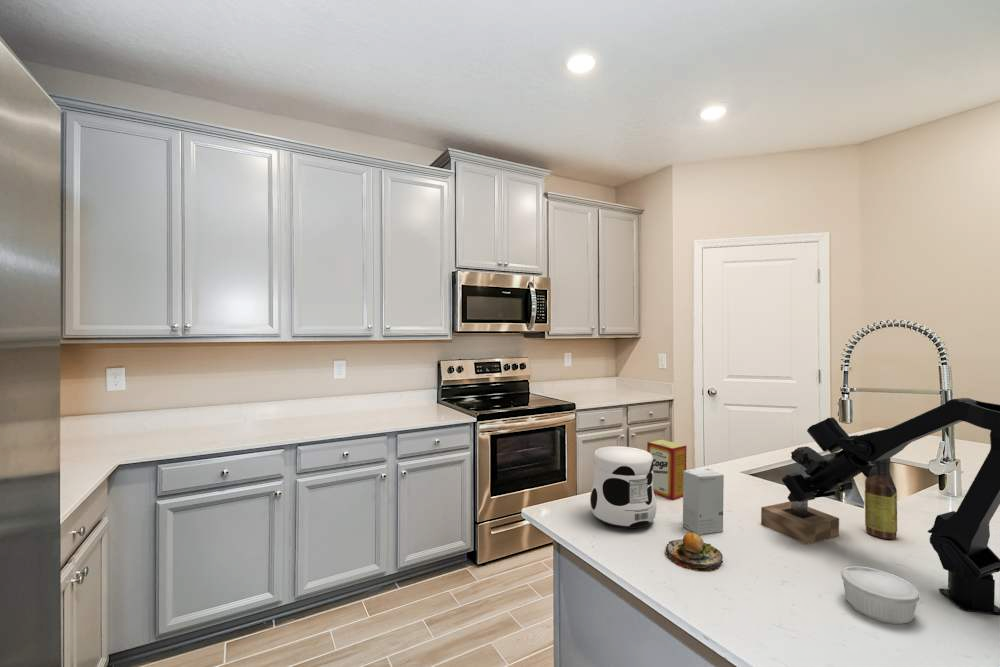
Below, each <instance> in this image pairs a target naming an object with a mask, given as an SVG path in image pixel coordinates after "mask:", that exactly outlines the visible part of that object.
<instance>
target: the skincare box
mask: <svg viewBox="0 0 1000 667" xmlns="http://www.w3.org/2000/svg"><path fill="white" fill-rule="evenodd" d="M724 477H725V476H724V474H723V473H720V472H718V471H715V470H713V469H709V468H699V469H698V468H697V469H696V468H695V469H694V468H693V469H686V470H685V471H683V497H682V526H683V528H686V529H687V530H689V531H690V533H692V532H693V533H695V534H697V535H699V536H701V535H707V534H713V533H721V532H724V485H725V484H724V481H725V479H724Z"/></svg>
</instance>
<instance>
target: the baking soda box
mask: <svg viewBox="0 0 1000 667" xmlns="http://www.w3.org/2000/svg"><path fill="white" fill-rule="evenodd" d="M646 448H647V449H646V451H647V452H649V453H650V454H651V455H652V457H653V491H654V495H657V496H659V497H662V498H666V499H668V500H670V501H676V500H678V499H683V471H685V470H687V445H684V444H683V443H679V442H674V441H669V440H665V439H656V440H651V441H650V440H649V441H647V446H646Z"/></svg>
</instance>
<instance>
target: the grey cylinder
mask: <svg viewBox="0 0 1000 667" xmlns="http://www.w3.org/2000/svg"><path fill="white" fill-rule="evenodd" d="M797 473H798V474H800V473H799V472H797ZM790 474H793V473H790ZM801 474H802V476H803V477H804V478H805V477H810V476H809V475H807V474H804V473H801ZM808 501H809V500H808ZM808 501H802V502H798V501H793V502H791V514H792V515H795V516H797V517H800V518H802V519H803V518H808V507H809V506H808V505H809V504H808V503H809V502H808Z"/></svg>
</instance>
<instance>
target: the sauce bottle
mask: <svg viewBox="0 0 1000 667" xmlns="http://www.w3.org/2000/svg"><path fill="white" fill-rule="evenodd" d="M891 461H892V460H891V458H888V459H882V460H876V461H871V462H870V463H872V464H875V465H877V471H878V475H877V476H873V477H868V478H867V477H865V480H864V484H865V485H864V488H865V489H864V524H865V525H864V526H865V531H866V532H867V534H869V535H871V536H874V537H876V538H880V539H886V540H895V539H896V538H897V532H898V490H897V487H896V484H895V482H894V480H893V478H892V475H891V465H890V464H891Z"/></svg>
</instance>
